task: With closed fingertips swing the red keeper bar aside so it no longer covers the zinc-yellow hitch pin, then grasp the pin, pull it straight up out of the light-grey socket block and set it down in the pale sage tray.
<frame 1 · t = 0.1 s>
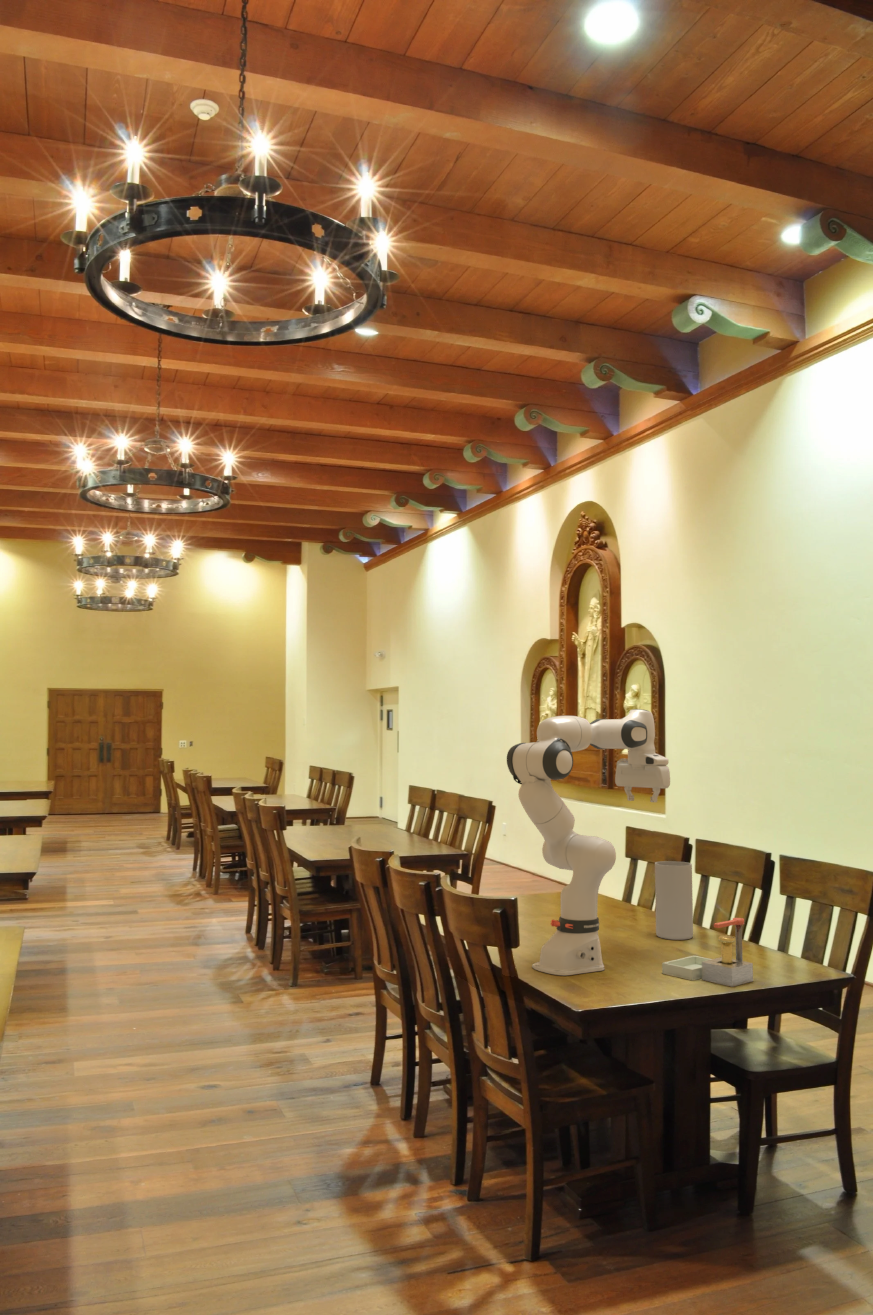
hand: (642, 801, 316), 48 cm above the table, fingers open, 8 cm apart
hitch pin: (727, 980, 275), resting in socket block
keeper: (729, 923, 277), point 16 cm above the table, hinge at 0.0°
cylinder vase: (674, 937, 335), on the table
tray: (693, 973, 284), on the table
socket block: (727, 980, 275), on the table
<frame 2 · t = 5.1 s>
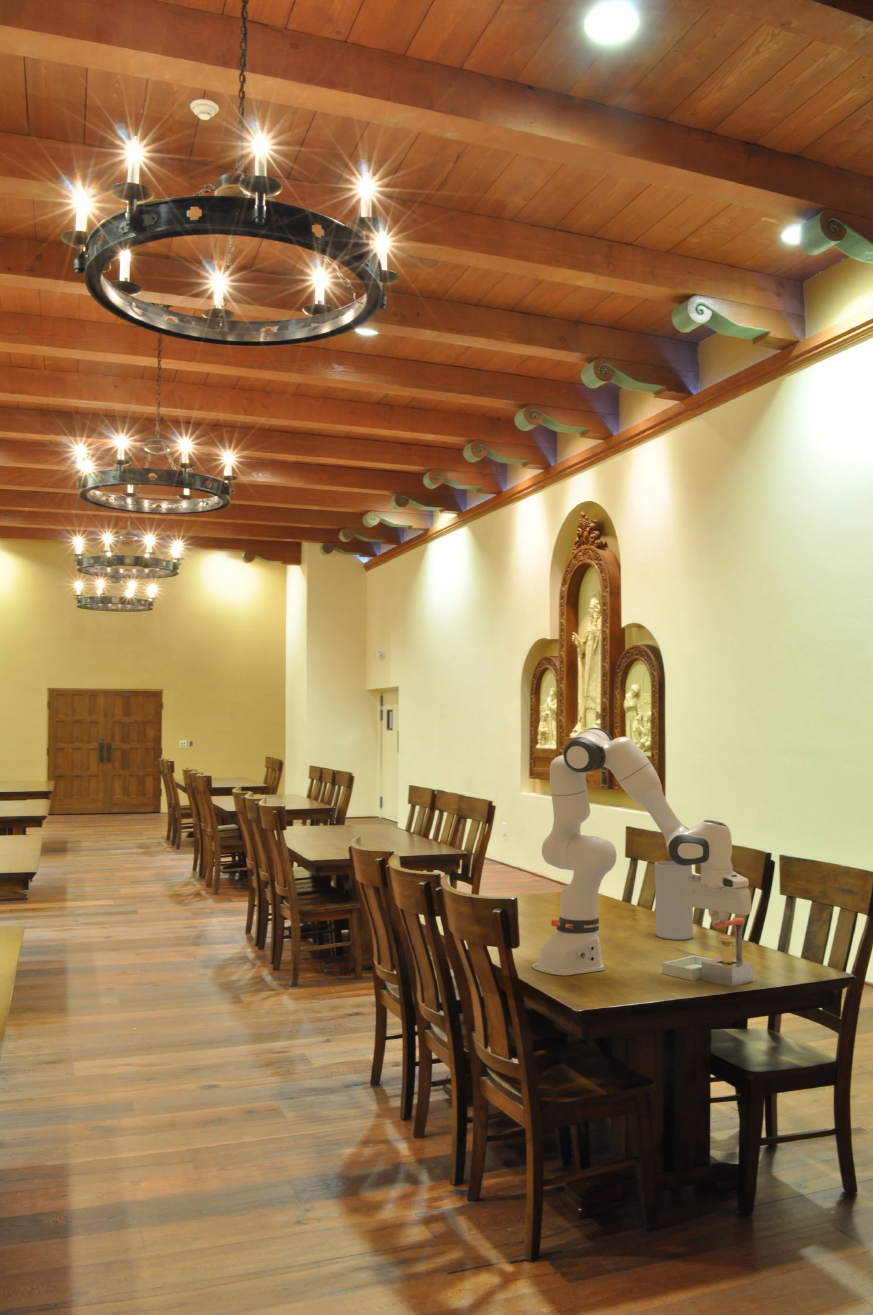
hand: (717, 926, 277), 15 cm above the table, fingers closed, pressing on keeper
keeper: (729, 923, 277), point 16 cm above the table, hinge at 0.0°, touching gripper
everything else where it was.
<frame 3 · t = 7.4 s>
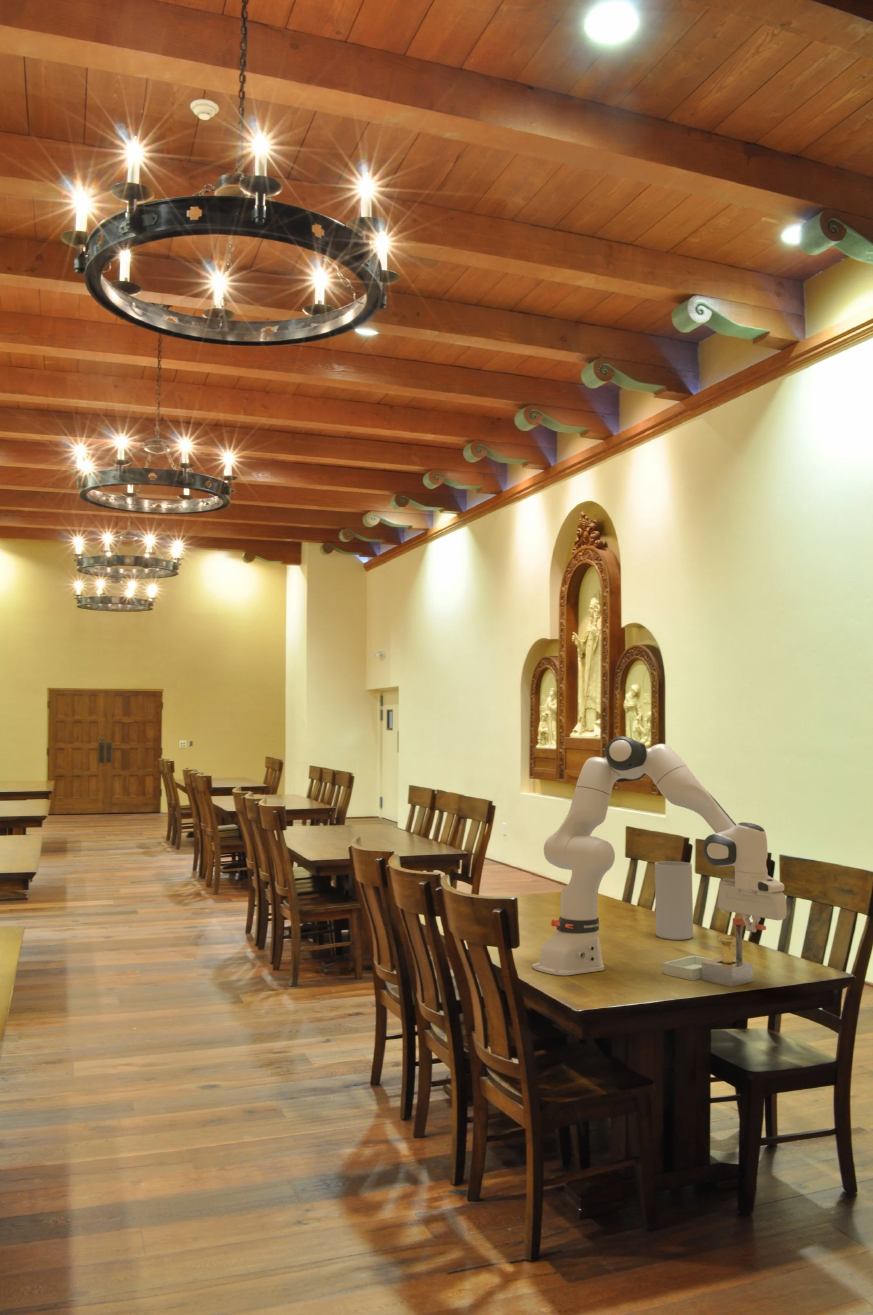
hand: (751, 931, 272), 14 cm above the table, fingers closed, pressing on keeper
keeper: (748, 924, 276), point 16 cm above the table, hinge at 72.2°, touching gripper
everything else where it was.
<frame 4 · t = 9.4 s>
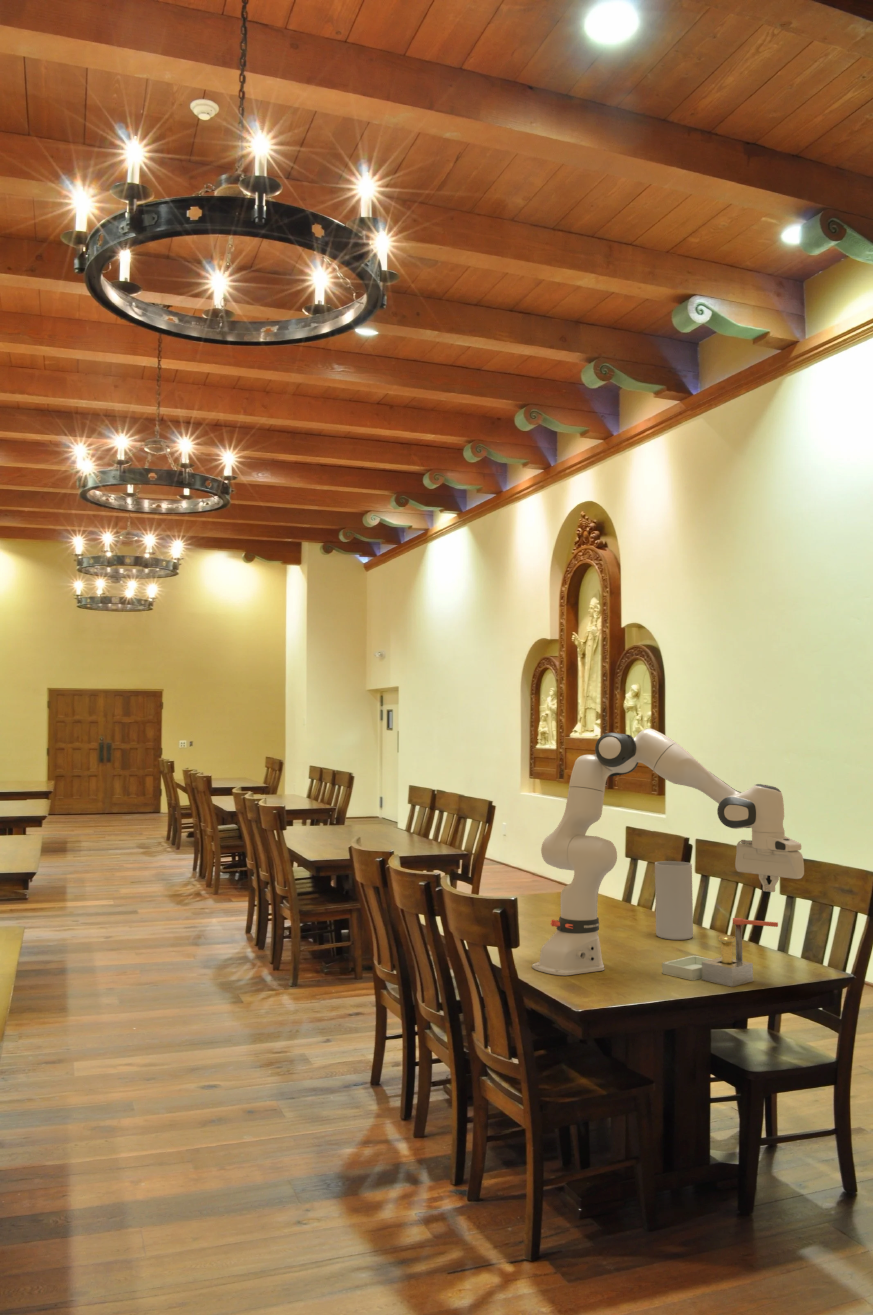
hand: (769, 891, 274), 25 cm above the table, fingers closed
keeper: (754, 922, 278), point 16 cm above the table, hinge at 114.2°
everything else where it was.
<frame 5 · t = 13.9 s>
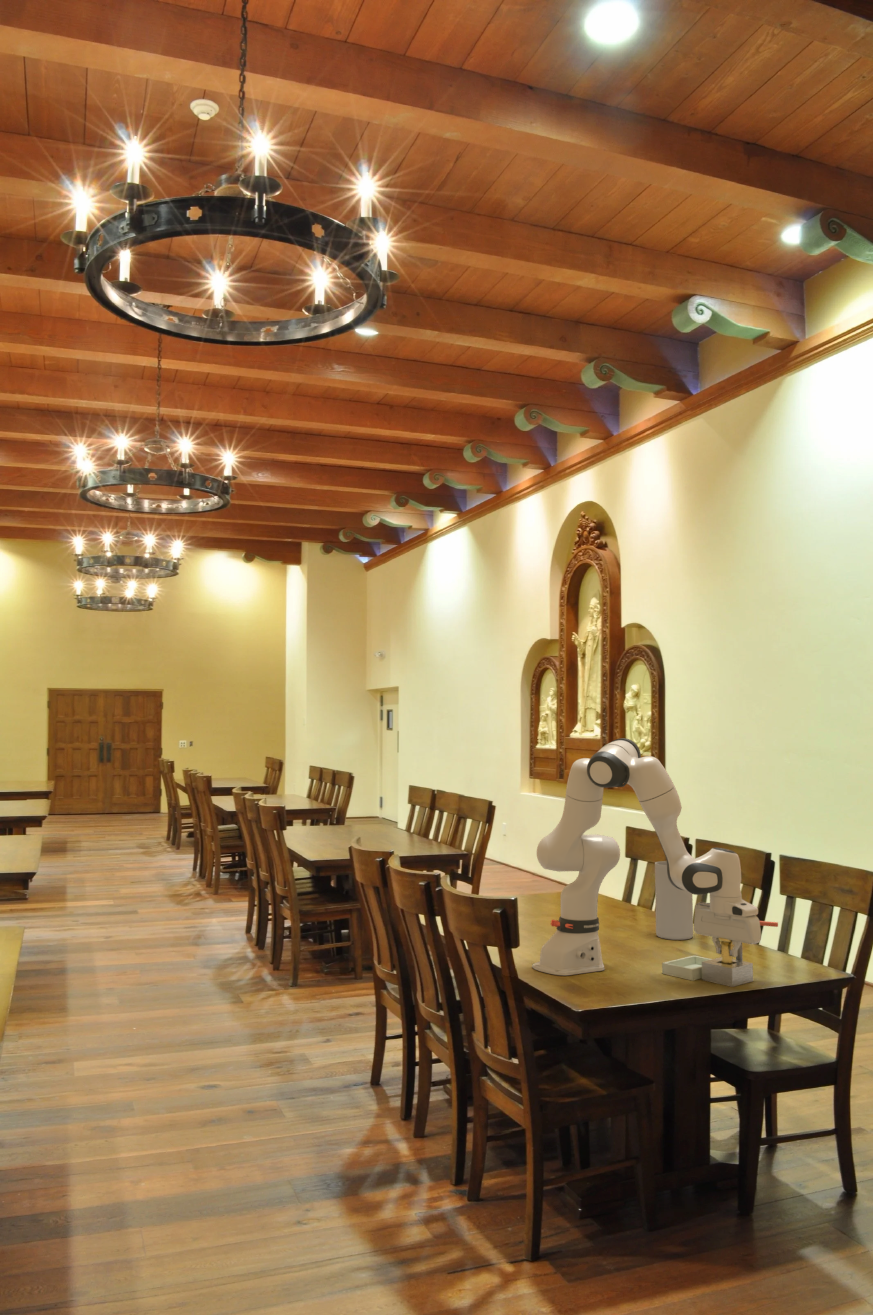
hand: (726, 955, 276), 7 cm above the table, fingers closed on hitch pin, 3 cm apart
hitch pin: (727, 980, 275), resting in socket block, touching gripper
everything else where it was.
when the fingers open (10 cm above the table, at t = 21.4 s): hitch pin stays where it is, resting on tray.
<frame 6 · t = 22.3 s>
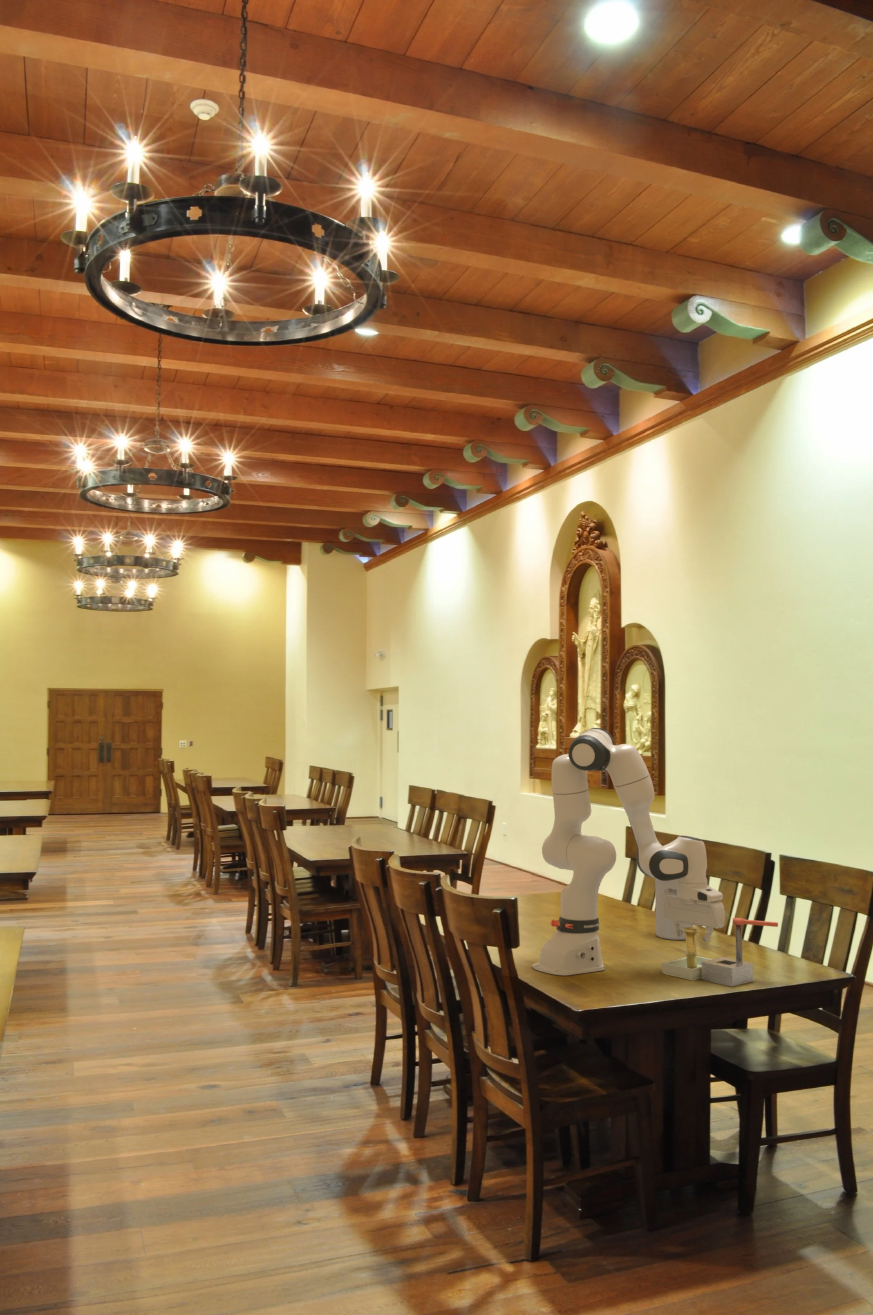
hand: (693, 939, 285), 10 cm above the table, fingers open, 8 cm apart
hitch pin: (692, 970, 284), point 1 cm above the table, touching tray
everything else where it was.
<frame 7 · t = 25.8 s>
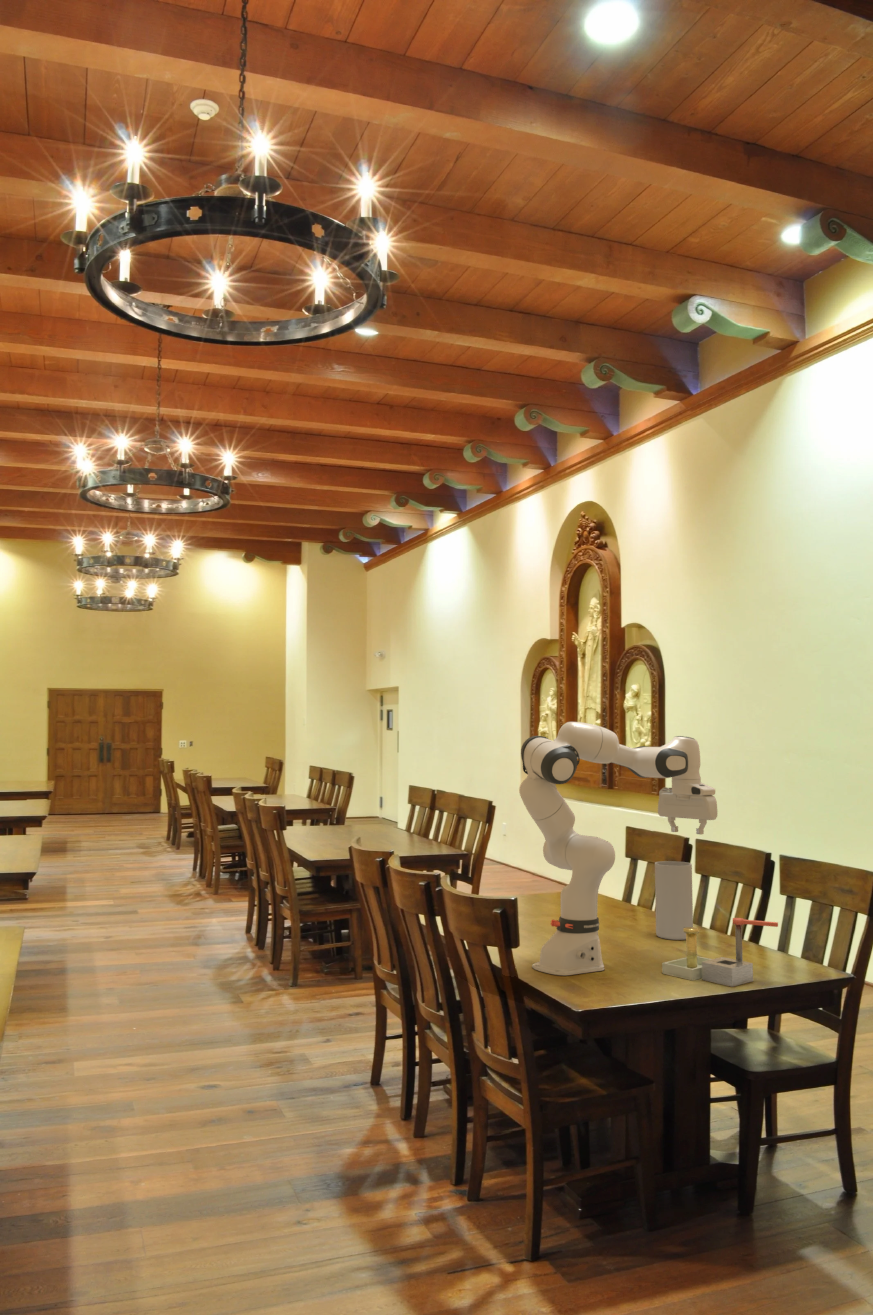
hand: (687, 833, 301), 39 cm above the table, fingers open, 8 cm apart
nothing on the table moved.
at the end: hitch pin inside the target area on the tray (0.7 cm from its centre), point 0.8 cm above the tray's base; the gripper is holding nothing; keeper at +114° (first picture: +0°) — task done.
